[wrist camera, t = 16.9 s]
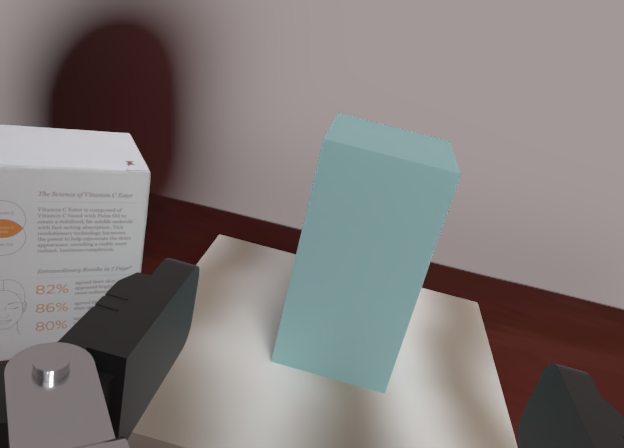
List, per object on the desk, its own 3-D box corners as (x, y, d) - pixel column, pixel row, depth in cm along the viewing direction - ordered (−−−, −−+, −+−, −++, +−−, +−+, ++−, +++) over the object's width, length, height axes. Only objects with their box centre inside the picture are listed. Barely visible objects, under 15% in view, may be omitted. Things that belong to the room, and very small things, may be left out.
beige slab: (74, 518, 21) (80, 417, 19) (207, 303, 35) (219, 234, 33) (492, 640, 20) (545, 549, 18) (450, 369, 35) (477, 302, 33)
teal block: (270, 361, 23) (323, 138, 20) (292, 303, 28) (338, 113, 24) (384, 393, 23) (460, 174, 19) (387, 329, 28) (449, 141, 24)
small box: (119, 293, 34) (134, 131, 30) (135, 350, 30) (155, 169, 26) (-32, 302, 30) (-39, 117, 26) (-40, 368, 26) (-50, 159, 22)
